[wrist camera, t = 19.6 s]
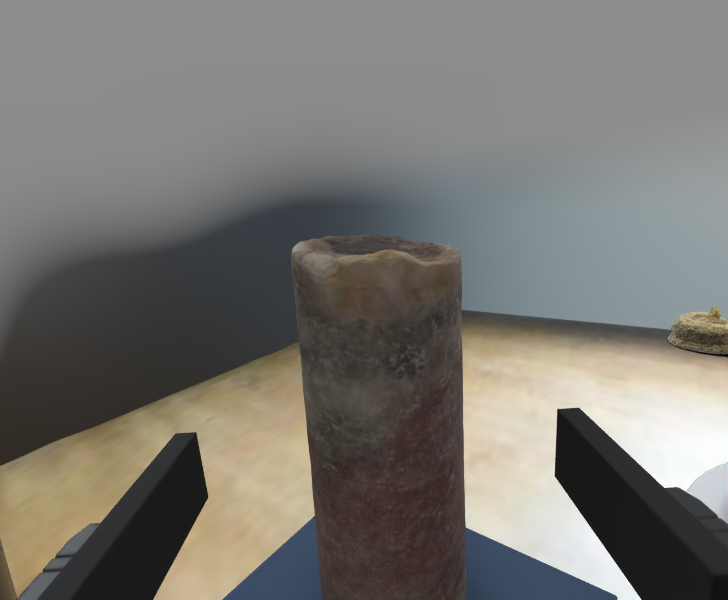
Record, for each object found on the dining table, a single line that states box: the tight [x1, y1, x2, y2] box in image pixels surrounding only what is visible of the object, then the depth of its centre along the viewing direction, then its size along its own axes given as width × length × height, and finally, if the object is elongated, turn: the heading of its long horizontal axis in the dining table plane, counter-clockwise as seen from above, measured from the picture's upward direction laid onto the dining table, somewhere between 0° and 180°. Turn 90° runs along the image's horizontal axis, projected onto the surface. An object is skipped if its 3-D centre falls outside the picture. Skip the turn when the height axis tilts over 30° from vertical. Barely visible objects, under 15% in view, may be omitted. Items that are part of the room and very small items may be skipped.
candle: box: [291, 235, 467, 600], centre depth 19 cm, size 8×7×20 cm
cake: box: [668, 308, 728, 354], centre depth 56 cm, size 10×10×5 cm
